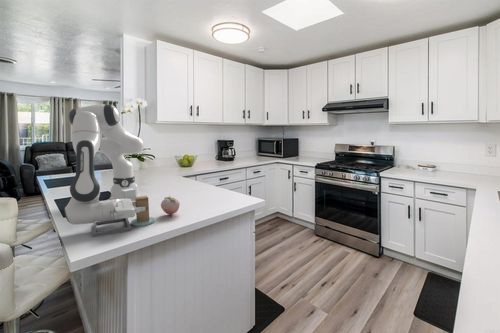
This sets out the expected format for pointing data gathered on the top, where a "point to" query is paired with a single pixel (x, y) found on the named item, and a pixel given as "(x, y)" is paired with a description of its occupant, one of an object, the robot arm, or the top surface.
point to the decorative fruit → (170, 205)
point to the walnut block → (142, 215)
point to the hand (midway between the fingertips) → (143, 205)
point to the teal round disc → (135, 223)
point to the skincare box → (128, 194)
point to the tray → (110, 230)
